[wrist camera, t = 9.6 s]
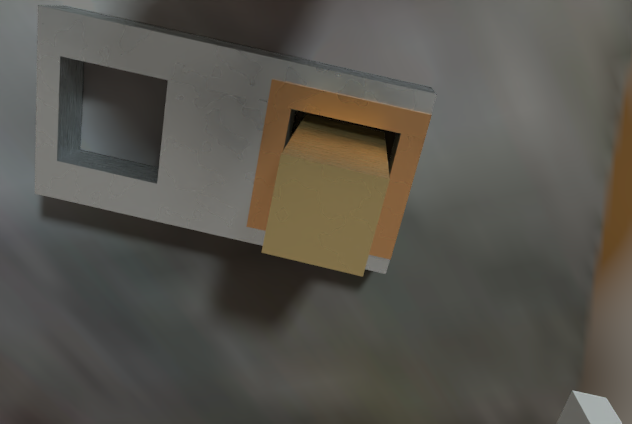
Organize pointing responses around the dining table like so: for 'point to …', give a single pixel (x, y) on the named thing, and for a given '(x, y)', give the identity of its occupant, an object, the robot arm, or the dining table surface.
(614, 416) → the robot arm
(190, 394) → the dining table surface
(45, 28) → the grey shape sorter board
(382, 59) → the dining table surface
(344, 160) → the tan rectangular block
